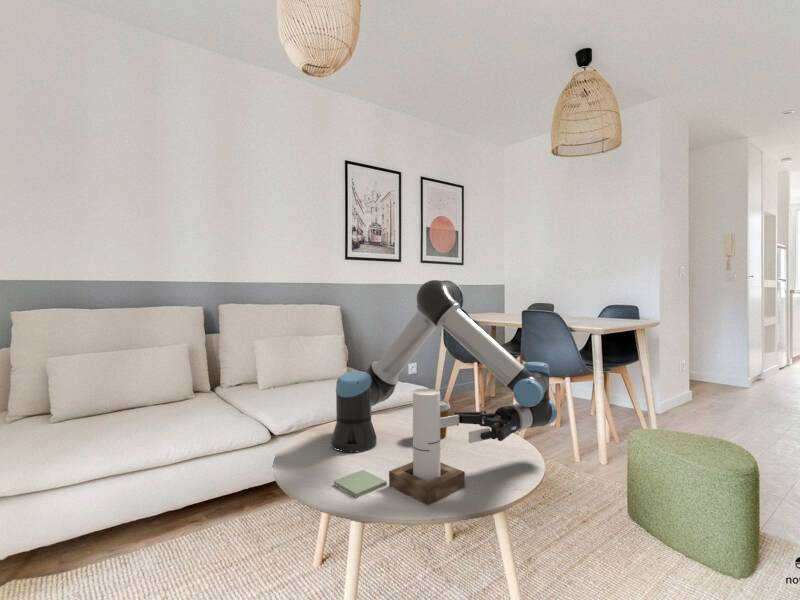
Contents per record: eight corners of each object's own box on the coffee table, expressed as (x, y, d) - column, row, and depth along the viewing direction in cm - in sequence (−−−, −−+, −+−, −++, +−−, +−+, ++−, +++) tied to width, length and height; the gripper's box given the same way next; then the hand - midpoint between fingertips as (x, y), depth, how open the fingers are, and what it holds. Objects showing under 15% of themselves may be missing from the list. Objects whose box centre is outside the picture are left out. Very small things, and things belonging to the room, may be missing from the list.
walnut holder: (389, 486, 111) (389, 471, 111) (425, 470, 120) (425, 456, 120) (428, 505, 101) (428, 489, 100) (464, 486, 110) (464, 471, 110)
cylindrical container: (444, 490, 108) (444, 393, 108) (418, 494, 106) (417, 396, 106) (434, 479, 115) (434, 387, 114) (409, 482, 113) (409, 389, 112)
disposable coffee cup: (454, 434, 151) (454, 401, 151) (443, 442, 143) (443, 407, 142) (430, 430, 156) (430, 397, 155) (418, 437, 147) (418, 403, 147)
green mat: (333, 484, 112) (333, 480, 112) (363, 473, 119) (363, 469, 119) (356, 497, 105) (356, 493, 105) (386, 484, 111) (386, 481, 111)
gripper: (545, 444, 113) (483, 459, 103) (484, 419, 135) (429, 430, 125) (545, 416, 113) (483, 429, 103) (484, 396, 135) (429, 405, 125)
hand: (453, 429), depth 114 cm, fingers open, 13 cm apart
